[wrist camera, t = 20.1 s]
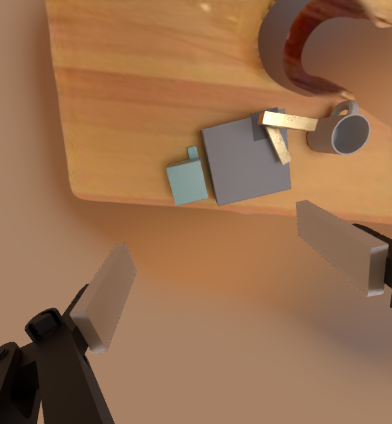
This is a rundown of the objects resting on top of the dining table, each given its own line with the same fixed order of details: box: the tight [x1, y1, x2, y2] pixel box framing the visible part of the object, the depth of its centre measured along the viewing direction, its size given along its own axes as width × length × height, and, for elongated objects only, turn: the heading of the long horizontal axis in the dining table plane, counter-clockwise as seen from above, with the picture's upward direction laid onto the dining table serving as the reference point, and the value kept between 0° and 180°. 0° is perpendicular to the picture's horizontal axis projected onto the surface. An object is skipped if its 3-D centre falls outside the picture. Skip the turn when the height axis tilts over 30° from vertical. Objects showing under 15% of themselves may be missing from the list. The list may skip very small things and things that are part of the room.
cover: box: [166, 146, 208, 206], centre depth 45 cm, size 10×7×7 cm, turn 13°
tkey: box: [258, 111, 318, 165], centre depth 36 cm, size 10×8×10 cm
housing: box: [201, 108, 291, 206], centre depth 45 cm, size 16×16×6 cm
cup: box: [307, 100, 370, 155], centre depth 42 cm, size 7×10×9 cm
